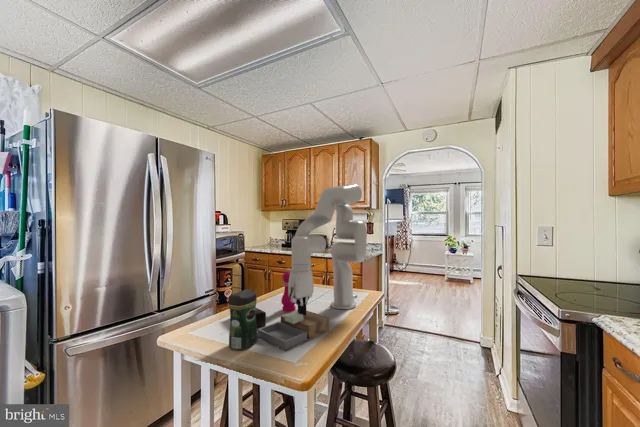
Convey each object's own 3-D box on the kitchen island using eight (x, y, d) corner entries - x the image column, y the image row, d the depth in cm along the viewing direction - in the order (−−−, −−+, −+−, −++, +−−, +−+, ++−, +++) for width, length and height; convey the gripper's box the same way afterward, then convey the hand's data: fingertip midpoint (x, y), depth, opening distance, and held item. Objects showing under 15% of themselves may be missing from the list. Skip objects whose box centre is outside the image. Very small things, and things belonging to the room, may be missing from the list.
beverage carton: (246, 314, 124) (246, 300, 124) (266, 327, 109) (266, 310, 109) (230, 319, 119) (229, 304, 119) (248, 332, 104) (248, 315, 104)
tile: (294, 317, 105) (294, 311, 105) (303, 320, 102) (303, 314, 102) (284, 320, 101) (284, 315, 102) (293, 323, 98) (293, 318, 98)
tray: (278, 329, 106) (278, 321, 106) (307, 340, 95) (306, 332, 95) (257, 337, 99) (257, 329, 99) (285, 351, 88) (285, 342, 88)
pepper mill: (294, 313, 124) (293, 269, 125) (279, 312, 126) (278, 269, 126) (298, 308, 131) (297, 267, 132) (284, 307, 133) (283, 266, 133)
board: (300, 320, 115) (300, 308, 115) (328, 330, 104) (328, 317, 104) (280, 328, 107) (280, 315, 107) (309, 339, 96) (308, 325, 96)
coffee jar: (244, 337, 99) (243, 286, 100) (261, 341, 96) (260, 288, 96) (224, 348, 91) (223, 293, 91) (242, 353, 87) (241, 295, 88)
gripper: (308, 264, 113) (308, 308, 113) (280, 269, 102) (281, 318, 102) (321, 266, 108) (321, 312, 108) (293, 271, 97) (294, 322, 97)
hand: (302, 314), depth 105 cm, fingers closed
